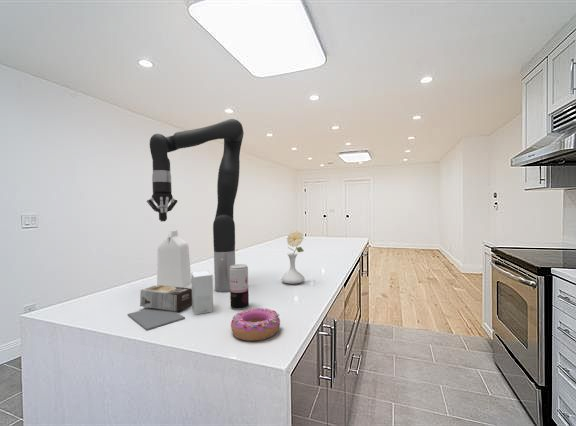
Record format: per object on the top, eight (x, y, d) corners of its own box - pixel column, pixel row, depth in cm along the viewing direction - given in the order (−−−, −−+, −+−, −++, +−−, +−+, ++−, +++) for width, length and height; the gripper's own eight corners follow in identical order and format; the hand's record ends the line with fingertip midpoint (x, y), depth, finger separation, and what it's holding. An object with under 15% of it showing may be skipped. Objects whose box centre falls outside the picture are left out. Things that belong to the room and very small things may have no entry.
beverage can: (241, 302, 108) (240, 263, 108) (252, 306, 104) (251, 265, 103) (227, 307, 104) (226, 266, 103) (237, 311, 99) (236, 268, 99)
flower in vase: (276, 282, 136) (275, 230, 135) (293, 278, 144) (292, 229, 143) (295, 288, 126) (294, 232, 126) (312, 283, 134) (311, 230, 133)
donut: (220, 338, 79) (220, 320, 79) (248, 319, 92) (247, 304, 92) (266, 347, 74) (265, 328, 74) (288, 326, 87) (288, 309, 87)
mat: (127, 315, 97) (127, 313, 97) (162, 306, 106) (162, 304, 106) (146, 330, 85) (146, 328, 85) (185, 318, 93) (185, 317, 93)
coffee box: (157, 284, 111) (193, 288, 107) (157, 300, 111) (193, 305, 107) (140, 289, 102) (178, 294, 98) (139, 307, 102) (177, 312, 98)
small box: (213, 311, 99) (212, 274, 99) (194, 315, 96) (193, 277, 96) (209, 304, 107) (208, 270, 106) (191, 307, 104) (190, 272, 103)
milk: (182, 288, 129) (180, 231, 129) (156, 288, 129) (155, 232, 129) (191, 281, 141) (189, 229, 141) (168, 281, 141) (166, 229, 141)
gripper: (149, 180, 116) (150, 222, 116) (180, 181, 125) (181, 220, 126) (142, 181, 121) (143, 222, 121) (173, 182, 131) (174, 220, 131)
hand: (163, 221), depth 124 cm, fingers closed
